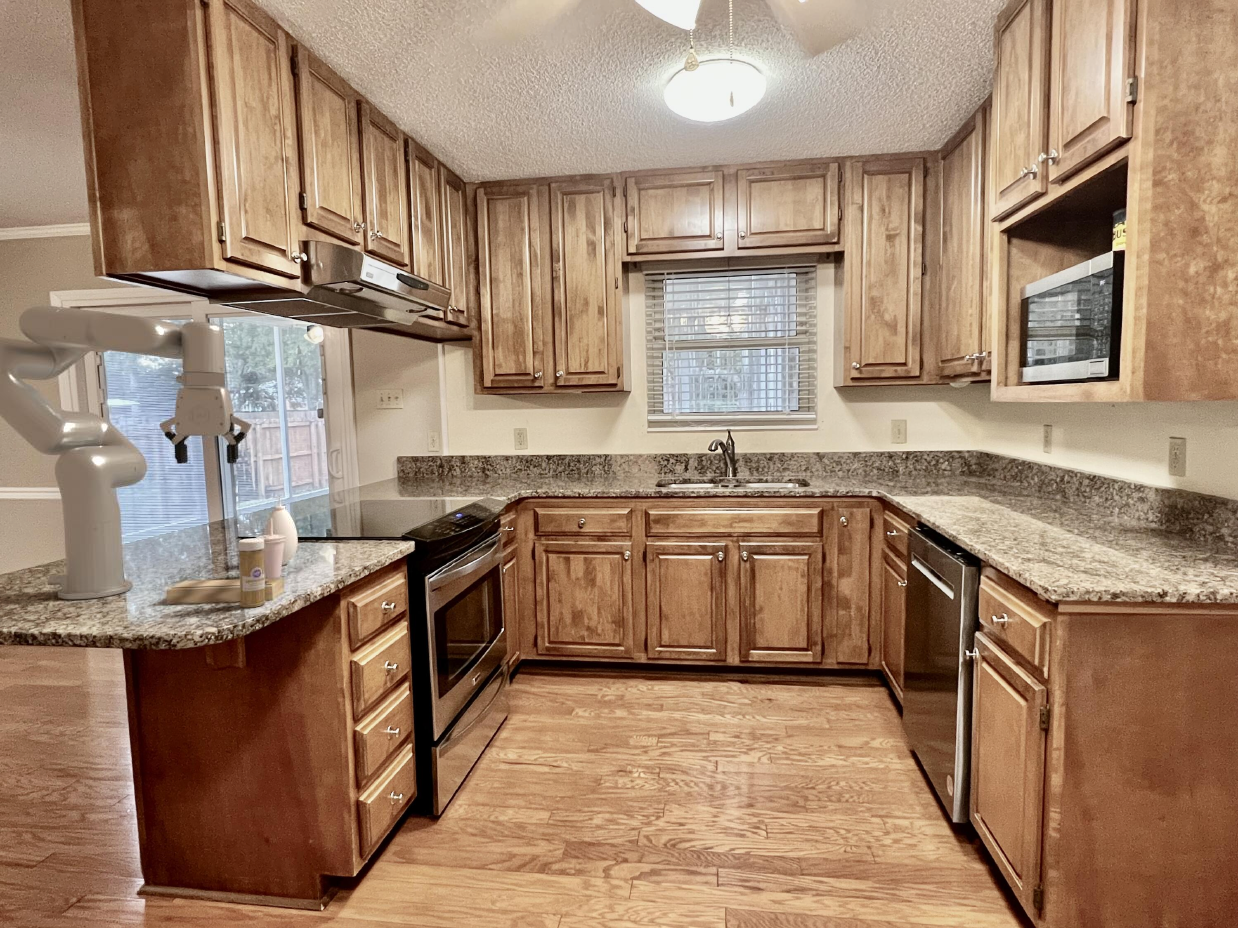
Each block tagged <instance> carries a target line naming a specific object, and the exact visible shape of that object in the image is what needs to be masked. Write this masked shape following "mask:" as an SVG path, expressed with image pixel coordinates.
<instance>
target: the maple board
mask: <svg viewBox="0 0 1238 928" xmlns="http://www.w3.org/2000/svg"><path fill="white" fill-rule="evenodd" d="M264 589H265V601H274V600H275V599H276V598H278V597H279V596H280V595H282V594H283V593H284V592H285V578H284V577H276V578H265V588H264ZM234 602H241V591H240V578H239V579H237V578H236V579H213V580H212V579H211V580H208V579H207V580H206V579H205V580H183V581H181V582H179V583H177V584H175V585H174V586H171V587H168V588H167V589H166V605H176V604H177V605H180V604H182V605H183V604H202V603H203V604H204V603H210V604H211V603H234Z"/></svg>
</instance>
